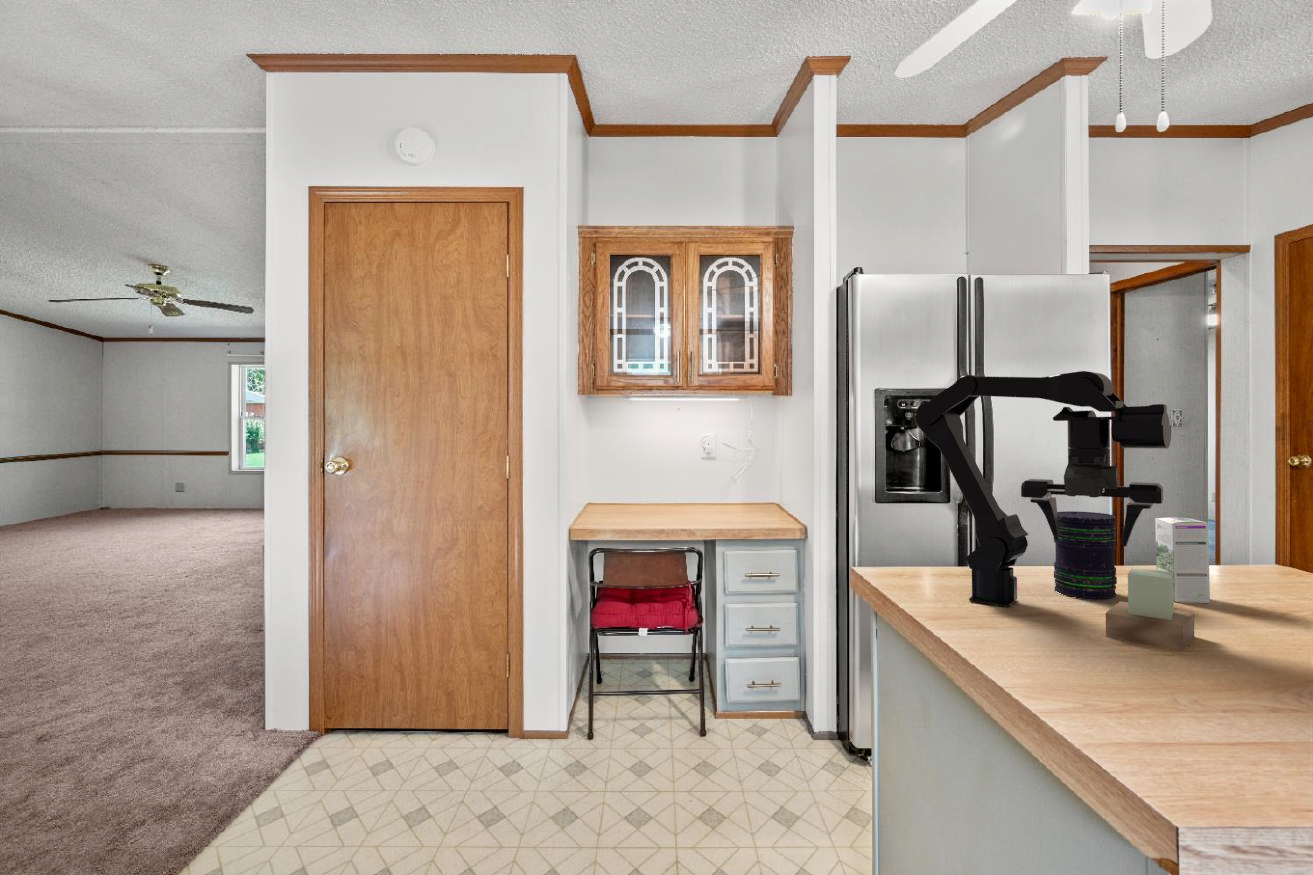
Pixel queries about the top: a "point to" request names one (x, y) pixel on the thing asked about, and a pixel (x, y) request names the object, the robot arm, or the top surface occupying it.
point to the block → (1150, 628)
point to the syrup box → (1184, 557)
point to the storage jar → (1085, 555)
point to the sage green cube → (1150, 593)
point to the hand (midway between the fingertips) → (1089, 543)
